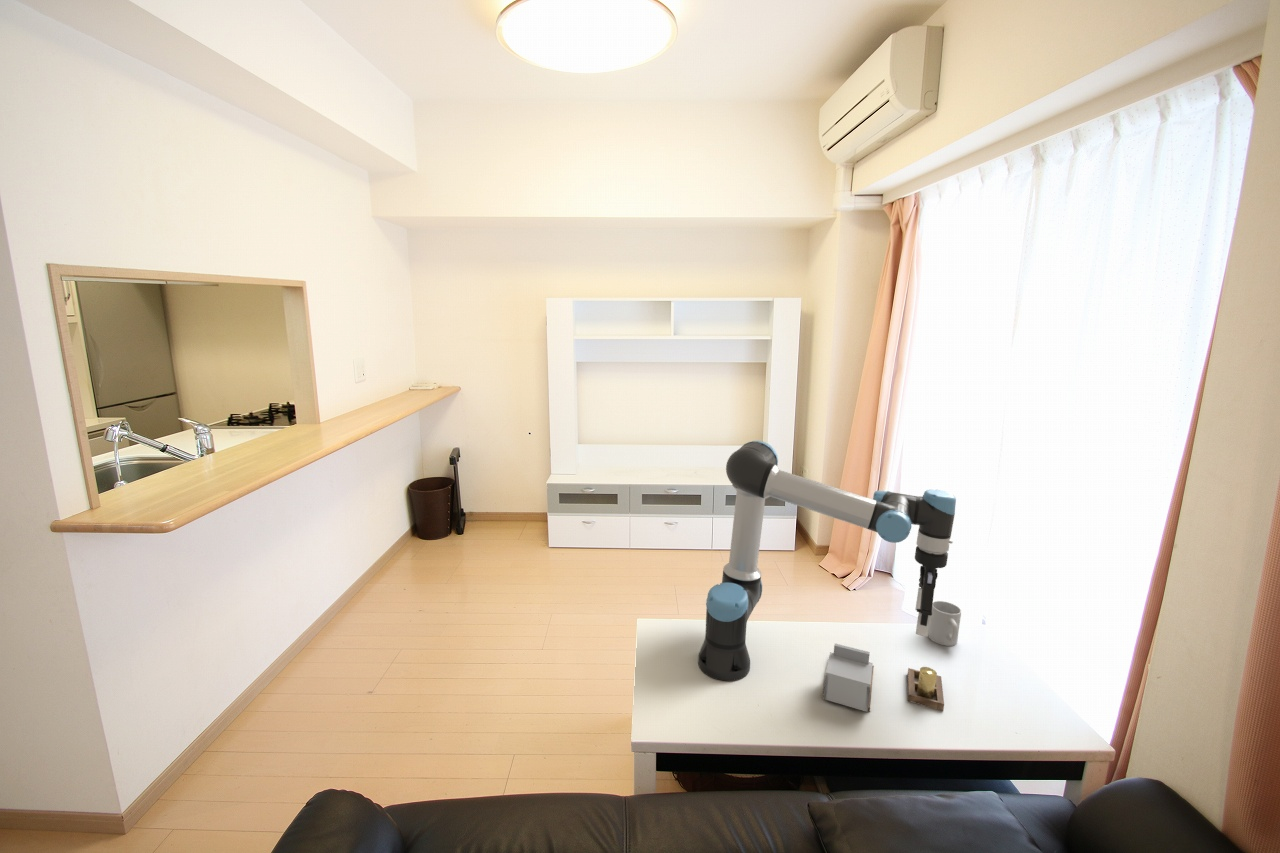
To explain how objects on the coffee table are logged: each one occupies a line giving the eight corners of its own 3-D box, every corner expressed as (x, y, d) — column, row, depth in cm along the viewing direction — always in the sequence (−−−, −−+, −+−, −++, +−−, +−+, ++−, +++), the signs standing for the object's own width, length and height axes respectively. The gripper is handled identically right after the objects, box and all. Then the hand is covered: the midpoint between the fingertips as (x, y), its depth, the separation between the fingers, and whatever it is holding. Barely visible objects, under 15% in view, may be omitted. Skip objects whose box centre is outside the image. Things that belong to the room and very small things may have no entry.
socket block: (907, 701, 148) (908, 694, 147) (907, 674, 159) (908, 668, 159) (943, 710, 144) (944, 704, 144) (940, 682, 156) (941, 676, 155)
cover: (823, 698, 146) (826, 662, 144) (827, 677, 155) (830, 642, 152) (867, 711, 141) (871, 674, 139) (869, 689, 150) (873, 653, 148)
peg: (916, 700, 148) (920, 673, 146) (916, 691, 151) (919, 665, 150) (933, 704, 146) (937, 677, 145) (932, 695, 150) (936, 669, 148)
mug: (922, 630, 182) (926, 600, 180) (949, 632, 181) (953, 601, 179) (939, 651, 170) (943, 619, 168) (967, 653, 170) (972, 621, 168)
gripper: (951, 570, 131) (938, 650, 136) (945, 535, 153) (935, 605, 158) (916, 563, 135) (905, 641, 139) (916, 530, 157) (906, 598, 161)
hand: (921, 622), depth 148 cm, fingers open, 13 cm apart
